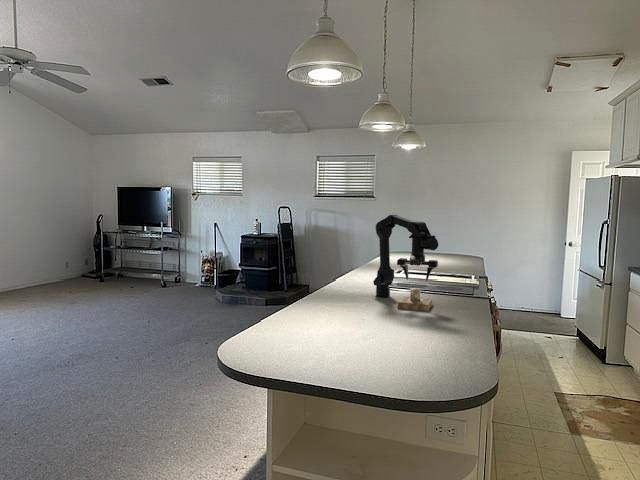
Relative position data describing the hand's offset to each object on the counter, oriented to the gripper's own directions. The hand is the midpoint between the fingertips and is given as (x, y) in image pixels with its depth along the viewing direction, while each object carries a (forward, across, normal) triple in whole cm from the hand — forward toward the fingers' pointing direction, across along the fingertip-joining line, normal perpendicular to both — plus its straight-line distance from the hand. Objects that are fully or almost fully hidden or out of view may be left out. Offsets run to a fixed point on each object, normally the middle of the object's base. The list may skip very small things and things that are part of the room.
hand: (416, 280), depth 217 cm
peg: (+12, 0, -2) cm, 12 cm away
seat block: (+12, 0, -2) cm, 12 cm away
